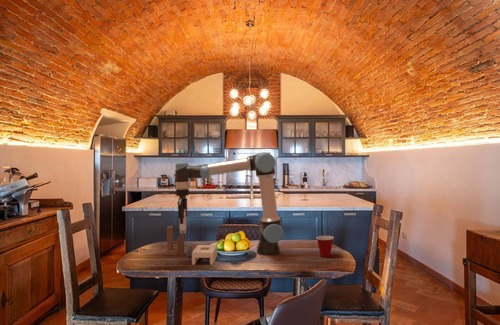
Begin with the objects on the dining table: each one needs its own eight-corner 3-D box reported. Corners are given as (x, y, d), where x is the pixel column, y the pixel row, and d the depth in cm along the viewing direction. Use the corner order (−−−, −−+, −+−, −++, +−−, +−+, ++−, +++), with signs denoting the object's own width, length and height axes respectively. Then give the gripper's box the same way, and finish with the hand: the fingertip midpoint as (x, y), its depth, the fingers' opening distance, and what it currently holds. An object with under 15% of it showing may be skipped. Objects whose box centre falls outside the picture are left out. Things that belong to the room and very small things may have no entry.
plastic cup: (320, 252, 206) (320, 234, 206) (336, 255, 200) (336, 236, 200) (313, 256, 198) (313, 237, 197) (329, 259, 191) (329, 239, 191)
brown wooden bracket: (182, 255, 201) (182, 227, 201) (166, 255, 202) (166, 227, 202) (184, 254, 205) (184, 226, 204) (168, 253, 205) (167, 225, 205)
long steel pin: (186, 232, 190) (186, 208, 190) (185, 233, 187) (184, 209, 186) (181, 232, 190) (180, 208, 190) (179, 233, 187) (178, 209, 187)
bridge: (217, 256, 200) (217, 245, 200) (212, 264, 184) (212, 252, 184) (198, 256, 200) (198, 244, 200) (192, 264, 184) (191, 252, 184)
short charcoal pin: (193, 255, 201) (193, 244, 201) (191, 257, 198) (191, 246, 198) (187, 255, 201) (187, 244, 201) (186, 257, 198) (186, 245, 198)
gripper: (179, 187, 197) (180, 225, 197) (171, 190, 180) (172, 231, 180) (191, 187, 196) (192, 225, 196) (185, 190, 180) (185, 231, 180)
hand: (183, 228), depth 188 cm, fingers closed on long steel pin, 3 cm apart
